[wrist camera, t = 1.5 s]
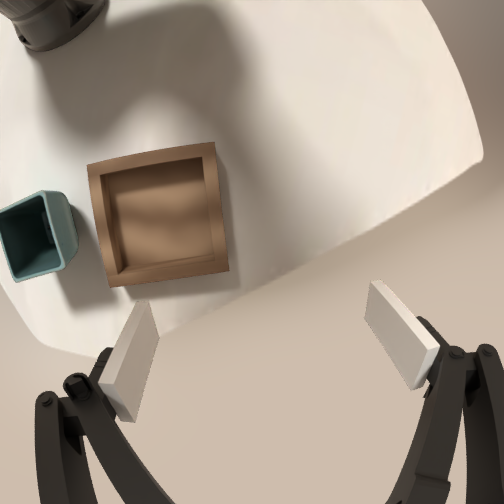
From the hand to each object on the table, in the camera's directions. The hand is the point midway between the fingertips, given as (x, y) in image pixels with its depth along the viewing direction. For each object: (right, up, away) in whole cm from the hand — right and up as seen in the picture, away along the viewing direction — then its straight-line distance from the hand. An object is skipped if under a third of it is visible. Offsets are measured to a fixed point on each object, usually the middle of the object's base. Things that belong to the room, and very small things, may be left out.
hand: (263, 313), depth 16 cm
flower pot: (-27, +7, +16) cm, 32 cm away
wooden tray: (-12, +8, +18) cm, 23 cm away
